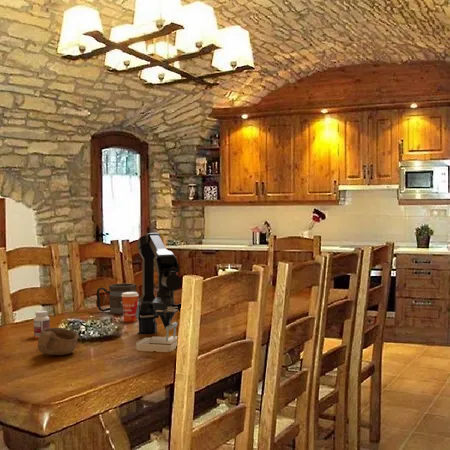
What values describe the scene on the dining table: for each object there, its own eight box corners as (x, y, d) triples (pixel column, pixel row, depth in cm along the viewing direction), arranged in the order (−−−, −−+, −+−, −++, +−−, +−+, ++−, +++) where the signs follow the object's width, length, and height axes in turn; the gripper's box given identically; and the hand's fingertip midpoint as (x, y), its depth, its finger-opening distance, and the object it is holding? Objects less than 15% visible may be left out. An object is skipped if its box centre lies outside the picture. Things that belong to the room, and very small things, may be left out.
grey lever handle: (162, 342, 236) (164, 326, 236) (171, 337, 246) (173, 321, 246) (170, 343, 236) (171, 327, 235) (179, 338, 245) (180, 322, 245)
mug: (139, 313, 323) (139, 283, 322) (134, 318, 309) (133, 286, 309) (100, 313, 324) (100, 283, 324) (93, 318, 311) (92, 287, 310)
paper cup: (118, 324, 293) (117, 293, 292) (127, 321, 300) (126, 291, 299) (133, 325, 290) (133, 294, 289) (142, 322, 297) (141, 291, 296)
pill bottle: (49, 336, 269) (48, 309, 268) (50, 339, 263) (50, 312, 262) (33, 337, 266) (32, 310, 266) (34, 340, 261) (34, 313, 260)
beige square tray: (134, 351, 237) (134, 343, 237) (148, 343, 250) (147, 336, 250) (170, 353, 234) (170, 345, 234) (182, 345, 247) (182, 337, 247)
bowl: (69, 362, 223) (68, 333, 222) (28, 362, 224) (27, 333, 223) (83, 350, 241) (82, 323, 240) (45, 351, 241) (44, 324, 241)
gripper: (133, 290, 235) (134, 333, 235) (183, 290, 230) (184, 334, 231) (145, 286, 246) (146, 327, 246) (192, 286, 241) (193, 329, 242)
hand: (166, 329), depth 241 cm, fingers closed
